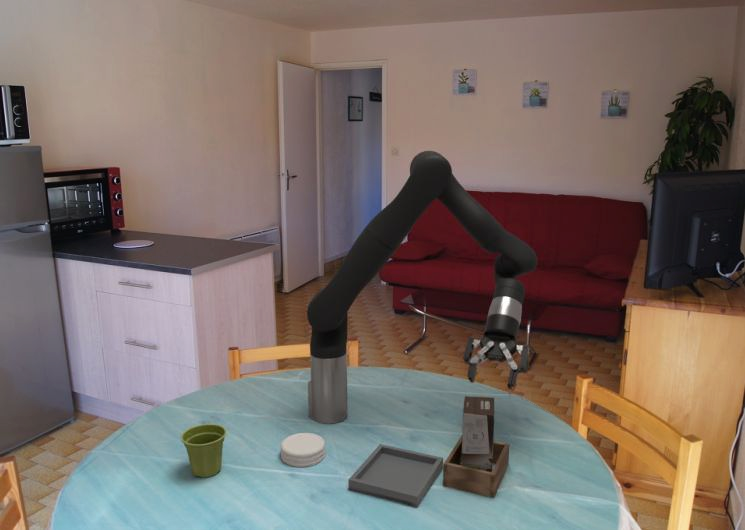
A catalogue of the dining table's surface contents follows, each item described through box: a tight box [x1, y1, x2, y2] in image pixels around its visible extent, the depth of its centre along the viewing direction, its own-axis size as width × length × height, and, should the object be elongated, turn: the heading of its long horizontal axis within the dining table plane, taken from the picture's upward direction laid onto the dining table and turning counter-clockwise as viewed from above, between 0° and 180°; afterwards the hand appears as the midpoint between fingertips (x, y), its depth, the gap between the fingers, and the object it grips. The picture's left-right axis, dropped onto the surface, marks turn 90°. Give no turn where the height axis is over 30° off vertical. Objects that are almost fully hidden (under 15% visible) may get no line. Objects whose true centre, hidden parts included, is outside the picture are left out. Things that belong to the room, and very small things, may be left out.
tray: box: [348, 443, 444, 508], centre depth 129 cm, size 15×16×2 cm
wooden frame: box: [442, 435, 510, 499], centre depth 129 cm, size 11×14×5 cm
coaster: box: [280, 432, 326, 468], centre depth 138 cm, size 10×10×4 cm
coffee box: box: [460, 395, 495, 472], centre depth 128 cm, size 9×6×16 cm
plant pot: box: [180, 423, 227, 479], centre depth 131 cm, size 9×9×9 cm
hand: (490, 384), depth 135 cm, fingers open, 8 cm apart
